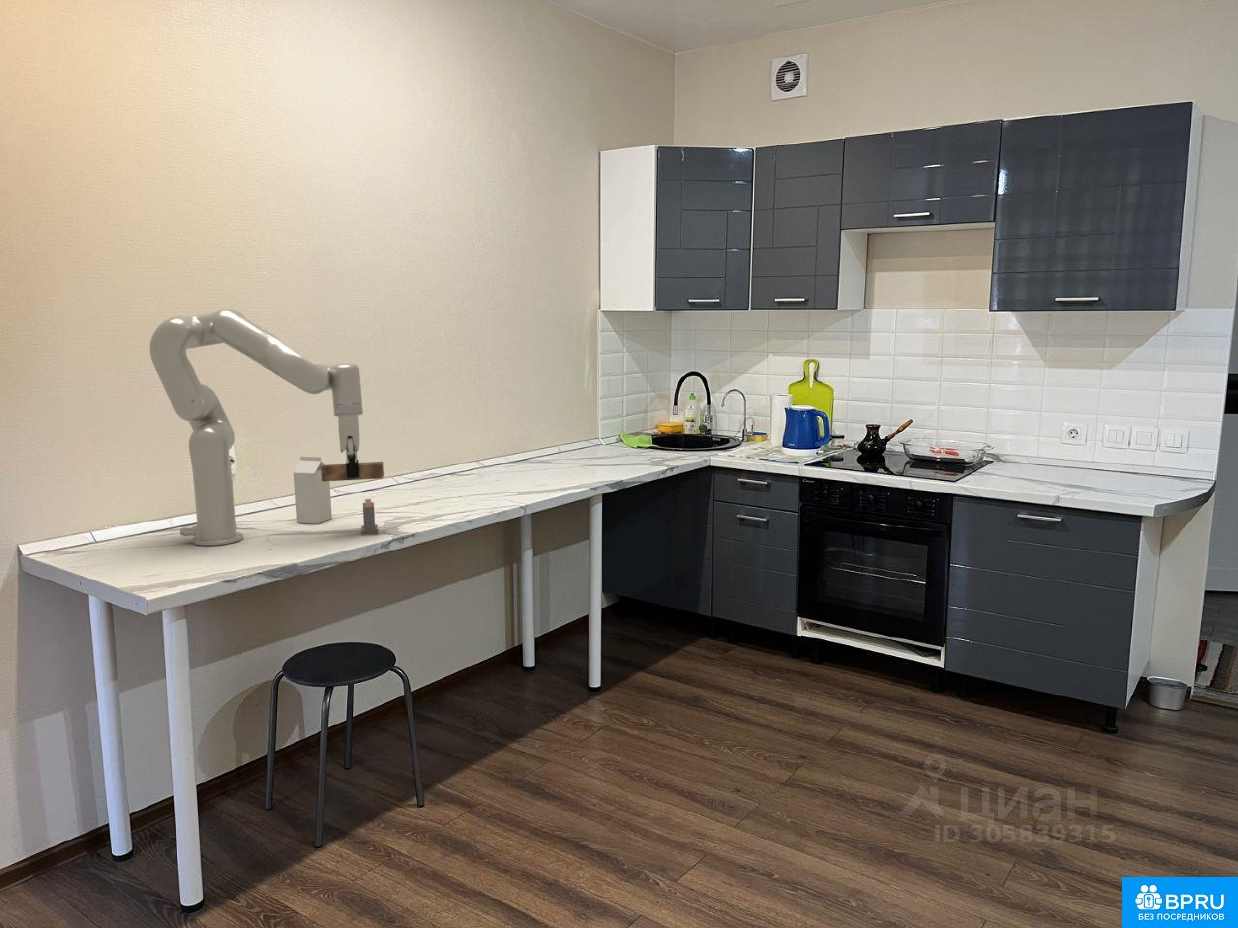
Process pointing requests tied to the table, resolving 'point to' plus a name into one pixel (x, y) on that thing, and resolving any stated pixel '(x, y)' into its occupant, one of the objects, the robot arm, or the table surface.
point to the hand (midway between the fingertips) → (353, 475)
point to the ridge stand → (369, 518)
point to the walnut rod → (340, 471)
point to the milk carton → (311, 492)
